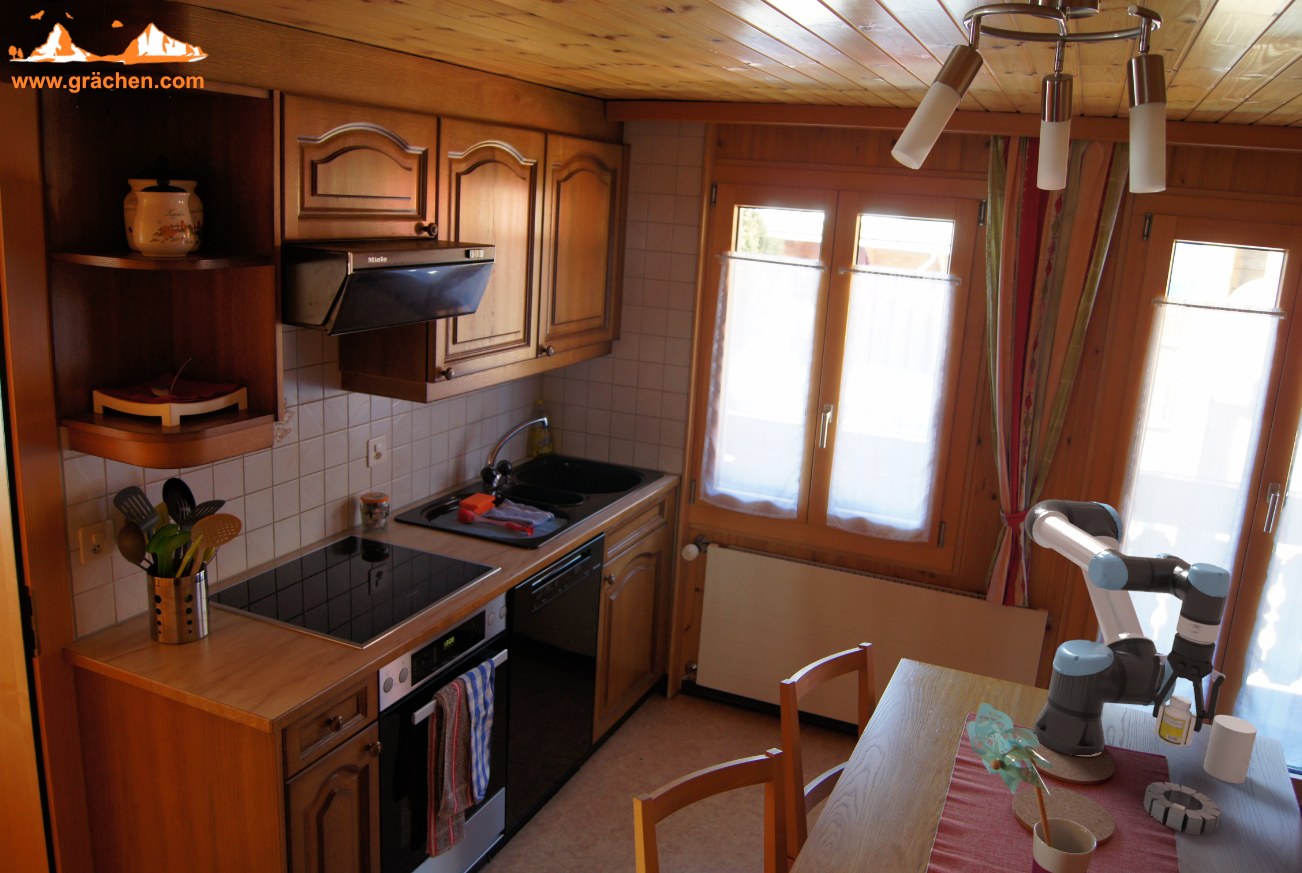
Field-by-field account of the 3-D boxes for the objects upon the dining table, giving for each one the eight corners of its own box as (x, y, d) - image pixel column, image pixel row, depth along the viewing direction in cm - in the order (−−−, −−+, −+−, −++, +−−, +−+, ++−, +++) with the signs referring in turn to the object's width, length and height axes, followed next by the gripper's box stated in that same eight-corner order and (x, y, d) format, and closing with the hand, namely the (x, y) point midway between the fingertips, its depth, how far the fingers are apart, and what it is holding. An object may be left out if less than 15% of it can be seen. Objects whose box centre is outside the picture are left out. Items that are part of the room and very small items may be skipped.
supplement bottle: (1174, 734, 204) (1183, 693, 202) (1192, 748, 198) (1201, 705, 196) (1152, 734, 203) (1161, 693, 201) (1169, 748, 197) (1179, 706, 195)
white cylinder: (1251, 786, 204) (1263, 736, 202) (1211, 779, 206) (1222, 729, 203) (1236, 767, 212) (1247, 718, 210) (1197, 760, 213) (1208, 712, 211)
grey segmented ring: (1137, 814, 189) (1141, 796, 188) (1151, 789, 199) (1155, 772, 198) (1210, 843, 181) (1214, 824, 180) (1221, 816, 191) (1225, 798, 190)
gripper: (1143, 627, 198) (1122, 727, 203) (1243, 657, 187) (1218, 762, 192) (1151, 618, 204) (1130, 715, 209) (1249, 647, 193) (1224, 748, 198)
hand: (1172, 737), depth 200 cm, fingers closed on supplement bottle, 5 cm apart
